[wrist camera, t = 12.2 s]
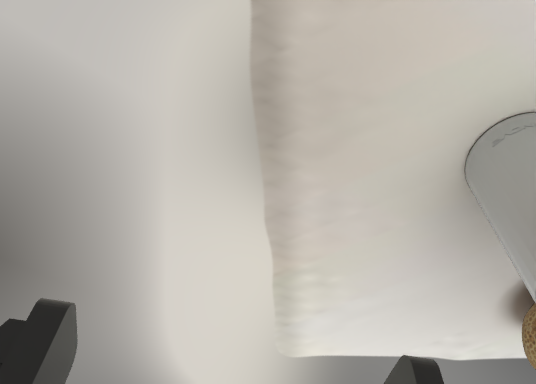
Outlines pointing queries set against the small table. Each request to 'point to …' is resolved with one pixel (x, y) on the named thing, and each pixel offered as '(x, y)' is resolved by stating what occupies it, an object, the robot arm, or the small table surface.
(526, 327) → the natural sponge
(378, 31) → the small table surface
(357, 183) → the small table surface
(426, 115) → the small table surface
